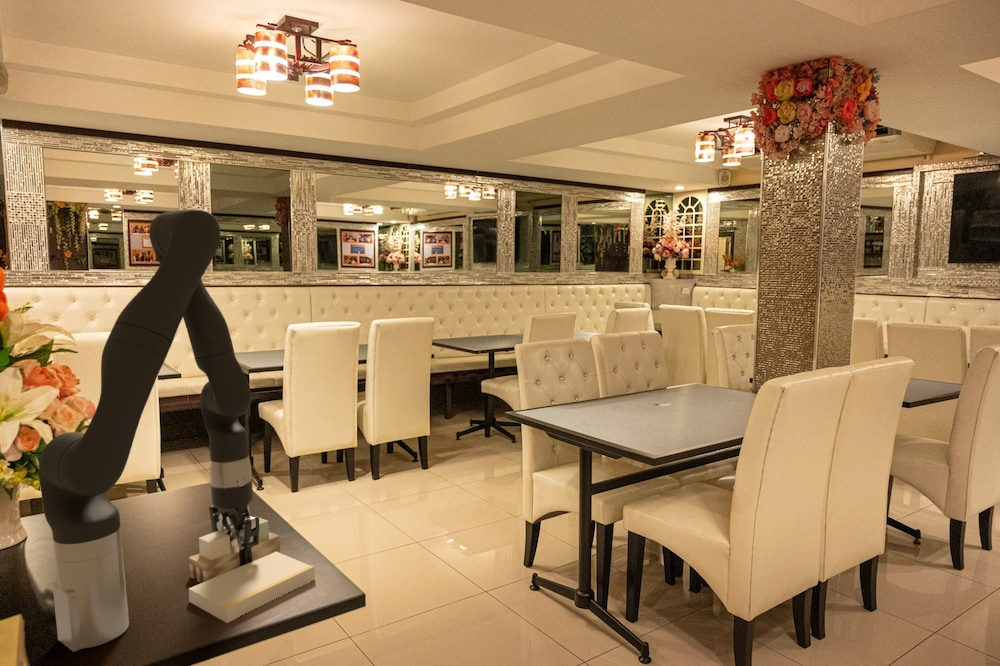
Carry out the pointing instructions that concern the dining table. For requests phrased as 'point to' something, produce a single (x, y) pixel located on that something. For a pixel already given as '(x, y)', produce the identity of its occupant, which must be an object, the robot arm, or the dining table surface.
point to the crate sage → (261, 529)
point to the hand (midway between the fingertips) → (236, 560)
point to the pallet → (230, 559)
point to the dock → (250, 586)
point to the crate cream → (214, 545)
